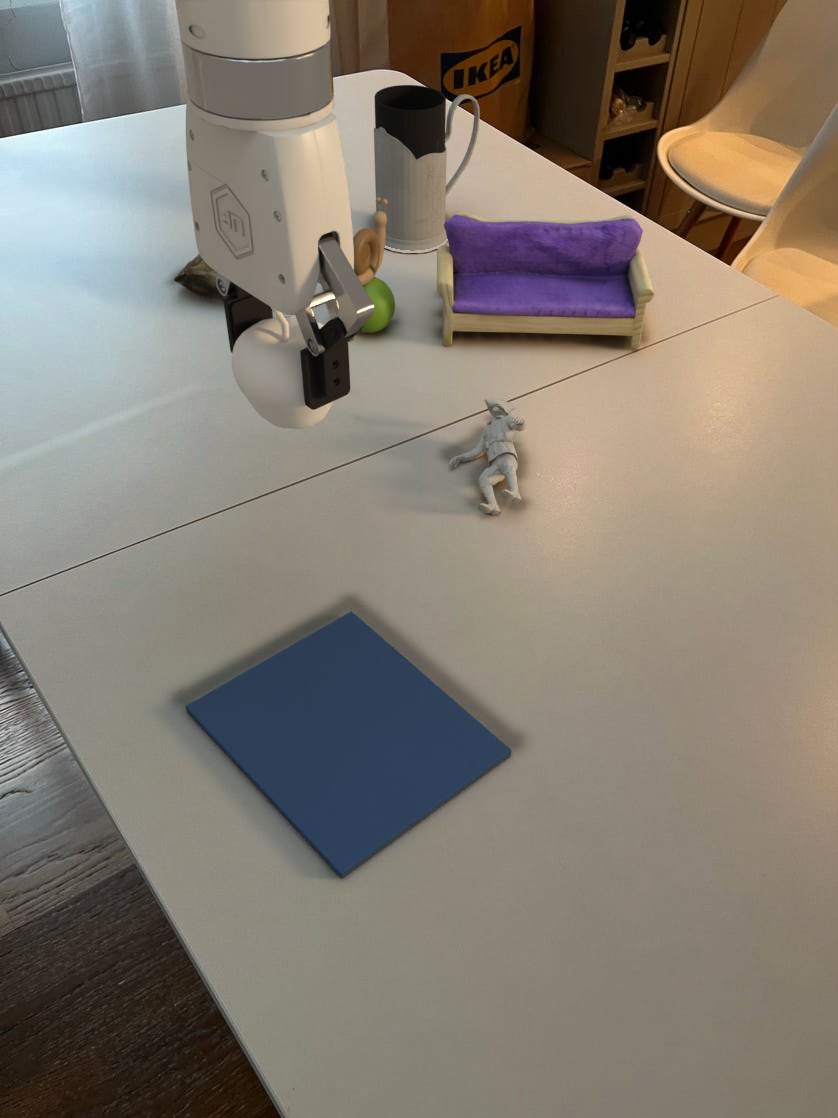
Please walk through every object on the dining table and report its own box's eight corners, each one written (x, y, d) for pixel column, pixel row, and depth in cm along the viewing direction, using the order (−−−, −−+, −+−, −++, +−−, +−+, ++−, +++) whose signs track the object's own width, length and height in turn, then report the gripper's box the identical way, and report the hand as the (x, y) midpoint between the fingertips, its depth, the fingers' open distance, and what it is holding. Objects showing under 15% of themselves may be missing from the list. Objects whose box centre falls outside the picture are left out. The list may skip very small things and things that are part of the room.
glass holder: (357, 232, 119) (351, 93, 109) (450, 201, 126) (453, 67, 116) (405, 261, 115) (404, 119, 104) (498, 227, 122) (506, 90, 111)
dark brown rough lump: (169, 291, 103) (271, 306, 106) (173, 221, 102) (277, 237, 104) (177, 295, 111) (272, 309, 113) (180, 230, 109) (277, 245, 111)
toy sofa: (435, 348, 103) (436, 248, 95) (436, 304, 109) (437, 208, 101) (644, 353, 104) (661, 256, 96) (634, 310, 110) (649, 215, 102)
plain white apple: (249, 382, 71) (234, 272, 66) (352, 387, 72) (347, 278, 66) (230, 442, 67) (213, 329, 61) (341, 447, 67) (334, 335, 61)
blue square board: (341, 879, 61) (341, 873, 61) (186, 711, 70) (185, 706, 69) (511, 755, 68) (511, 749, 68) (351, 616, 77) (351, 610, 76)
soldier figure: (450, 524, 86) (436, 407, 91) (488, 543, 89) (472, 429, 94) (522, 482, 81) (503, 362, 86) (559, 504, 85) (539, 387, 90)
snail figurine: (409, 319, 106) (408, 203, 98) (379, 348, 102) (375, 230, 94) (363, 306, 108) (358, 191, 99) (331, 334, 104) (323, 216, 95)
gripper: (108, 44, 56) (165, 339, 69) (304, 145, 48) (327, 458, 61) (224, 19, 60) (258, 303, 73) (425, 109, 52) (423, 411, 65)
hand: (289, 372), depth 67 cm, fingers closed on plain white apple, 7 cm apart
